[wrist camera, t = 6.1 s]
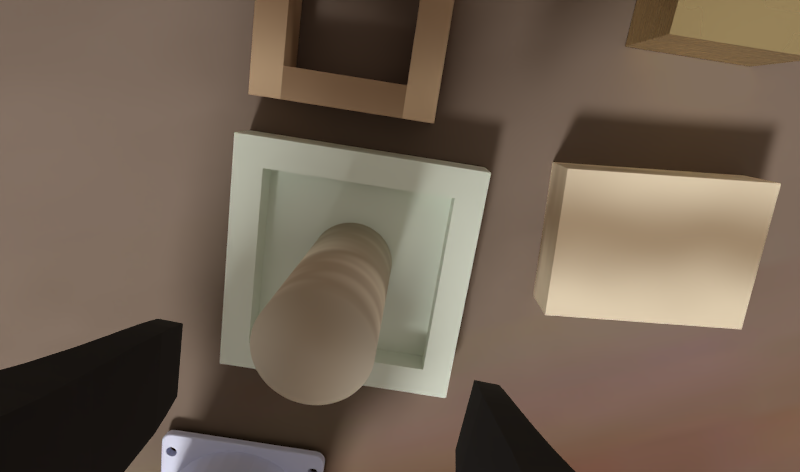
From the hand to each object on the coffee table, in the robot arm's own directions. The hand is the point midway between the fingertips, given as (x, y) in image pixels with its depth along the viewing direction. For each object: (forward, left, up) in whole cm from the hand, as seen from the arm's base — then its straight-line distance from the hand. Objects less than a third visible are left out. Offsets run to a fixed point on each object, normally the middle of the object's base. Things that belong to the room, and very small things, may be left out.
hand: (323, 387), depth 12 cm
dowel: (0, +1, -10) cm, 10 cm away
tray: (0, +1, -10) cm, 10 cm away
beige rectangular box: (+3, -11, -11) cm, 16 cm away
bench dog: (+12, -11, -10) cm, 19 cm away
